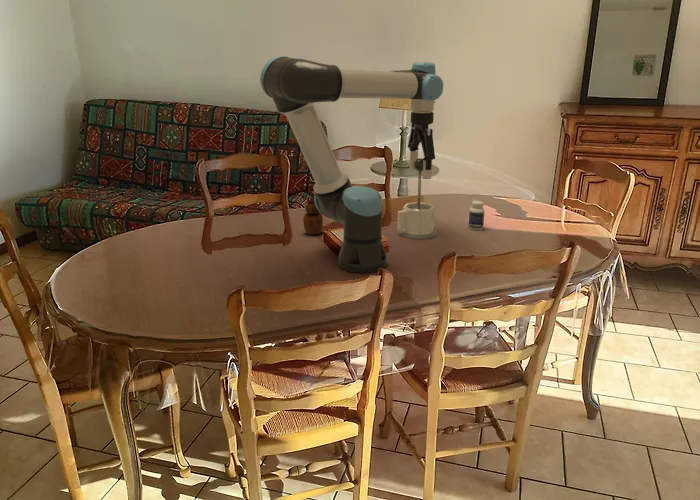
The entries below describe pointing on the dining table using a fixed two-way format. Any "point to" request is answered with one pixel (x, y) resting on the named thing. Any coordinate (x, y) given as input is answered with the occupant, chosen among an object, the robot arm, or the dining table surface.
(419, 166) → the plunger
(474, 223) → the pill bottle
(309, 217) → the wooden figurine
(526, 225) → the dining table surface
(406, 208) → the white faceted cup
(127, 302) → the dining table surface
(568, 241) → the dining table surface
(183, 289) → the dining table surface
